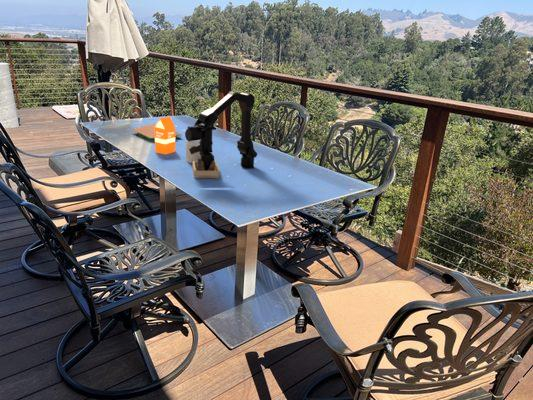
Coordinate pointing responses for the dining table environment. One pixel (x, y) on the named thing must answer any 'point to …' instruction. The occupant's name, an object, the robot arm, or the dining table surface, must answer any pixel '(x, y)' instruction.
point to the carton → (206, 172)
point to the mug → (189, 156)
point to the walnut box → (201, 165)
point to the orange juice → (165, 136)
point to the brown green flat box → (150, 131)
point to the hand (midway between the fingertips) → (205, 169)
